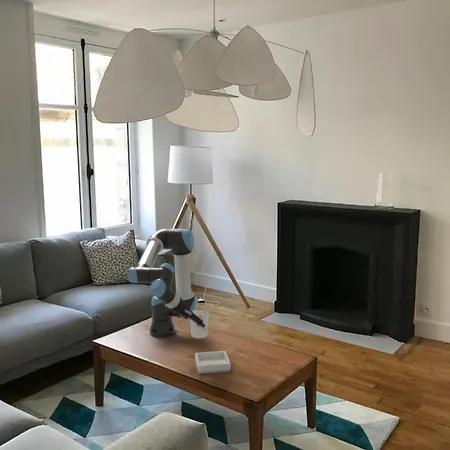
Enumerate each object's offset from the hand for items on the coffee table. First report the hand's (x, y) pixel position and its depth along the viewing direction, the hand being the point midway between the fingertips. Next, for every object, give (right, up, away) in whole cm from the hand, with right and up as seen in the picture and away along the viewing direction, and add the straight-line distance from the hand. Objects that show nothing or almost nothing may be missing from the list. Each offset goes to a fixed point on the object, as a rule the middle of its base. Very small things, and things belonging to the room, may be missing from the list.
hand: (201, 326), depth 267 cm
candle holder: (-1, -5, 0) cm, 5 cm away
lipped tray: (+6, -20, -1) cm, 20 cm away
